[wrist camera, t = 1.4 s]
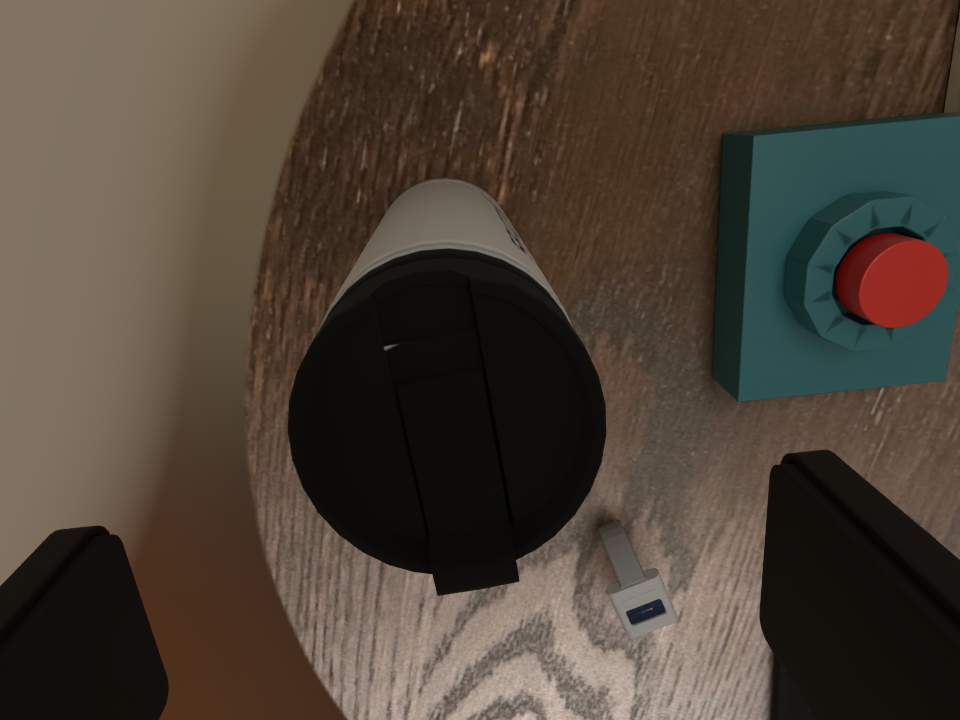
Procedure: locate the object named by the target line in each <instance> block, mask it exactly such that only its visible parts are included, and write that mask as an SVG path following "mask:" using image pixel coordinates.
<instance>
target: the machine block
mask: <svg viewBox="0 0 960 720" xmlns="http://www.w3.org/2000/svg"><path fill="white" fill-rule="evenodd" d="M880 233H896V234H900V235H903V236H907V237H911V238H915V239H919V240H922V241H926V242H929V243H931V244H932V245H934V246H936V247H937V248H938V249H939V250H940V251H941V253H942V254H943V256H944V258H945V259H946V262H947V266H948V281H947V286H946V289H945V291H944V294H943V296H942V298H941V299H940V301H939V302H938V304H937V305H936V306H935V307H934V308H933V309H932V310H931V312H929V313H928V314H927V315H926V316H925V317H923V318H922V319H920V320H918V321H917V322H915V323H912V324H910V325H907V326H903V327H898V328H887V327H882V326H879V325H876V324H874V323H872V322H870V321H868V320H866V319H864V318H862V317H859V316H857V315H855V314H853V313H851V312H850V311H848V310H847V309H846V308H845V307H844V306H843V305H842V304H841V302H840V300H839V298H838V296H837V292H836V285H835V283H836V275H837V271H838V268H839V266H840V263H841V262H842V260H843V258H844V257H845V255H846V254H847V253H848V252H849V251H850V250H851V249H852V248H853V247H854V246H855V245H856V244H857V243H859V242H860V241H862V240H864V239H865V238H868V237H870V236H872V235H876V234H880ZM959 300H960V113H931V114H920V115H910V116H900V117H889V118H879V119H869V120H858V121H848V122H837V123H827V124H817V125H806V126H796V127H786V128H775V129H765V130H754V131H744V132H734V133H724V134H723V138H722V162H721V185H720V209H719V233H718V256H717V280H716V304H715V328H714V351H713V375H712V377H713V378H714V379H715V380H716V381H717V382H718V383H719V384H720V385H721V386H722V387H723V388H724V389H725V390H726V391H727V392H729V393H730V394H731V395H732V396H733V397H734V398H735V399H736V400H737V401H738V402H743V401H753V400H762V399H772V398H782V397H791V396H801V395H810V394H820V393H830V392H839V391H849V390H859V389H868V388H878V387H888V386H897V385H907V384H917V383H926V382H936V381H944V380H945V377H946V372H947V366H948V361H949V355H950V350H951V344H952V338H953V333H954V327H955V322H956V316H957V311H958V305H959Z"/></svg>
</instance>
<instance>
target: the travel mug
mask: <svg viewBox="0 0 960 720" xmlns="http://www.w3.org/2000/svg"><path fill="white" fill-rule="evenodd" d="M288 435H289V442H290V448H291V454H292V460H293V463H294V466H295V468H296V471H297V474H298V476H299V479H300V481H301V484H302V487H303V489H304V490H305V492H306V494H307V495H308V497H309V498H310V500H311V502H312V503H313V505H314V506H315V508H316V509H317V511H318V513H319V514H320V515H321V516H322V517H323V518H324V519H325V520H326V521H327V522H328V523H329V525H330V526H331V527H332V528H333V529H334V530H335V531H336V532H337V533H338V534H339V535H340V536H341V537H343V538H344V539H346V540H347V541H348V542H350V543H351V544H352V545H354V546H355V547H357V548H358V549H359V550H361V551H362V552H363V553H366V554H368V555H370V556H372V557H374V558H376V559H378V560H380V561H382V562H384V563H386V564H388V565H391V566H395V567H398V568H402V569H406V570H409V571H413V572H419V573H427V574H433V579H434V583H435V587H436V591H437V595H438V596H440V595H446V594H452V593H459V592H466V591H473V590H479V589H484V588H489V587H494V586H499V585H504V584H509V583H515V582H519V575H518V569H517V563H516V560H517V559H519V558H521V557H523V556H524V555H526V554H528V553H530V552H532V551H534V550H536V549H537V548H539V547H540V546H541V545H543V544H544V543H546V542H547V541H548V540H550V539H551V538H553V537H554V536H555V535H556V534H557V533H558V532H559V531H560V530H561V529H562V528H563V527H564V526H565V524H566V523H567V522H568V521H569V520H570V519H571V518H572V517H573V516H574V515H575V514H576V512H577V510H578V509H579V507H580V506H581V504H582V503H583V501H584V500H585V498H586V496H587V495H588V493H589V492H590V490H591V488H592V485H593V483H594V480H595V478H596V475H597V473H598V470H599V467H600V465H601V462H602V456H603V450H604V445H605V439H606V406H605V401H604V396H603V392H602V388H601V384H600V380H599V376H598V373H597V371H596V369H595V367H594V365H593V363H592V361H591V359H590V357H589V355H588V352H587V350H586V348H585V347H584V345H583V343H582V342H581V340H580V338H579V337H578V335H577V333H576V332H575V330H574V328H573V326H572V324H571V322H570V319H569V317H568V315H567V313H566V311H565V309H564V307H563V306H562V304H561V303H560V301H559V299H558V298H557V296H556V294H555V293H554V291H553V290H552V288H551V286H550V285H549V283H548V282H547V280H546V278H545V277H544V275H543V274H542V272H541V270H540V269H539V267H538V266H537V264H536V262H535V261H534V259H533V258H532V256H531V254H530V253H529V251H528V250H527V248H526V246H525V245H524V243H523V242H522V240H521V238H520V237H519V235H518V234H517V232H516V230H515V229H514V227H513V226H512V224H511V222H510V221H509V219H508V218H507V216H506V215H505V213H504V211H503V210H502V208H501V207H500V206H499V204H498V203H497V202H496V200H495V199H494V198H493V197H492V196H490V195H489V194H488V193H487V192H486V191H485V190H483V189H482V188H480V187H478V186H476V185H475V184H473V183H470V182H467V181H464V180H461V179H456V178H448V177H444V178H432V179H429V180H425V181H422V182H419V183H417V184H415V185H413V186H411V187H410V188H408V189H406V190H405V191H404V192H403V193H402V194H400V195H399V196H398V197H397V198H396V199H395V201H394V202H393V203H392V204H391V206H390V207H389V208H388V210H387V212H386V213H385V215H384V217H383V218H382V220H381V222H380V223H379V225H378V227H377V228H376V230H375V232H374V233H373V235H372V237H371V238H370V240H369V242H368V243H367V245H366V247H365V248H364V250H363V252H362V253H361V255H360V257H359V258H358V260H357V262H356V263H355V265H354V267H353V269H352V270H351V272H350V274H349V275H348V277H347V279H346V280H345V282H344V284H343V285H342V287H341V289H340V290H339V292H338V294H337V295H336V297H335V299H334V301H333V302H332V304H331V305H330V307H329V309H328V311H327V313H326V315H325V317H324V319H323V321H322V323H321V325H320V327H319V329H318V332H317V335H316V337H315V338H314V340H313V342H312V343H311V345H310V347H309V349H308V351H307V353H306V355H305V357H304V359H303V361H302V363H301V365H300V367H299V369H298V371H297V374H296V377H295V381H294V385H293V389H292V392H291V396H290V400H289V416H288Z"/></svg>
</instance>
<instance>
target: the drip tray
mask: <svg viewBox="0 0 960 720" xmlns="http://www.w3.org/2000/svg"><path fill="white" fill-rule="evenodd" d="M944 113H960V11H959V17H958V24H957V30H956V37H955V43H954V50H953V56H952V62H951V69H950V75H949V82H948V88H947V95H946V101H945V108H944Z"/></svg>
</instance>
